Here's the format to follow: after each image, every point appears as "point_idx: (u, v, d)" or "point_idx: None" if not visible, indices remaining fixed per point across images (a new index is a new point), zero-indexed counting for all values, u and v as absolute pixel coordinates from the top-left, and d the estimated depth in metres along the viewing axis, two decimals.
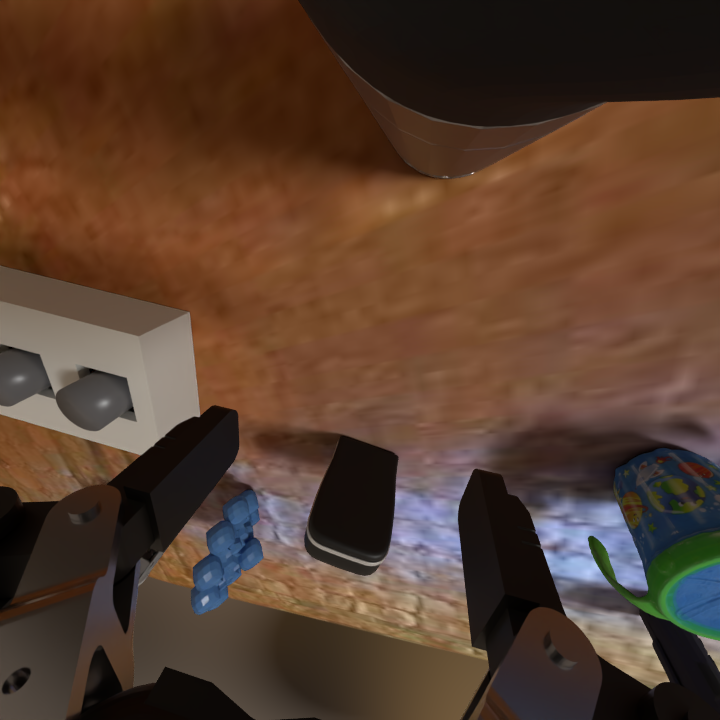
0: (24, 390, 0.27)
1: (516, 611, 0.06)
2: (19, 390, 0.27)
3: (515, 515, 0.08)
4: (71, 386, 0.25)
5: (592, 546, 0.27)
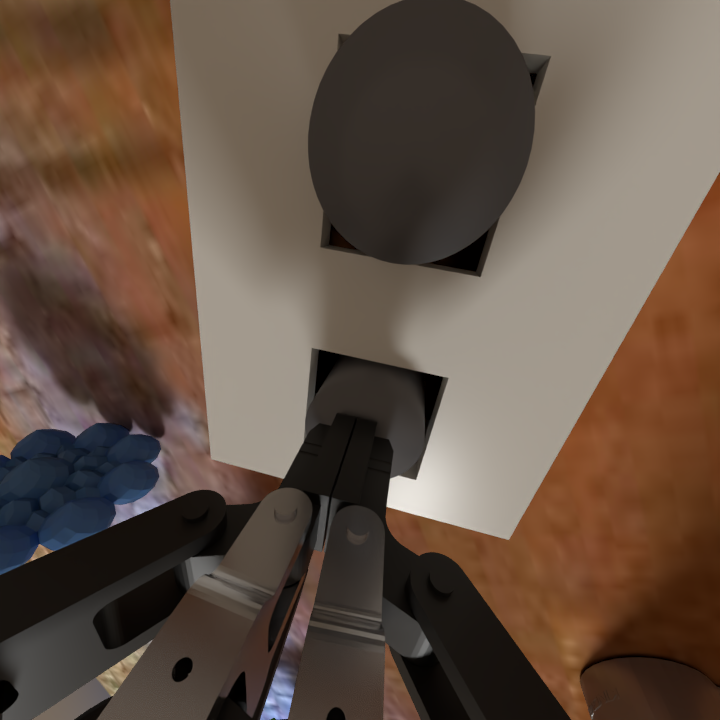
0: None
1: None
2: None
3: (379, 452, 0.10)
4: None
5: None
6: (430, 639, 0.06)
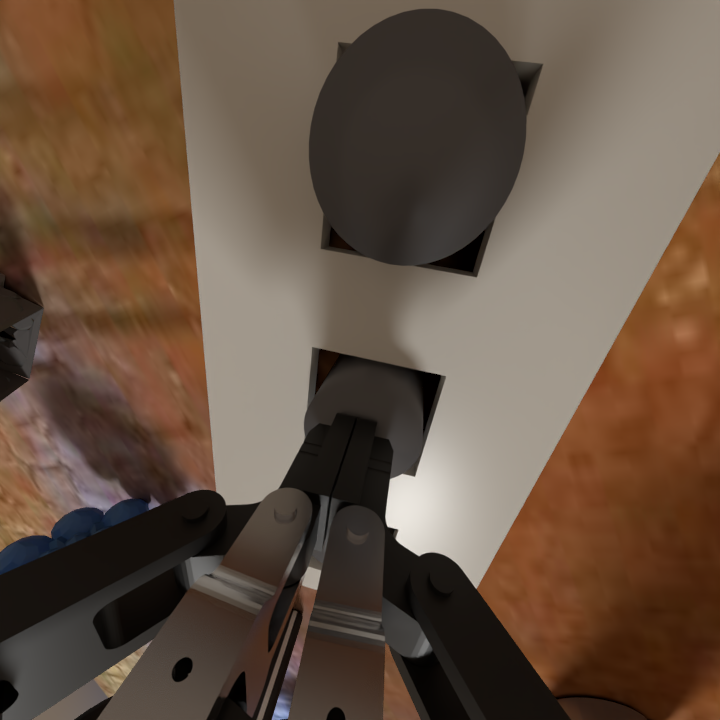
0: None
1: None
2: None
3: (379, 452, 0.10)
4: None
5: None
6: (430, 639, 0.06)
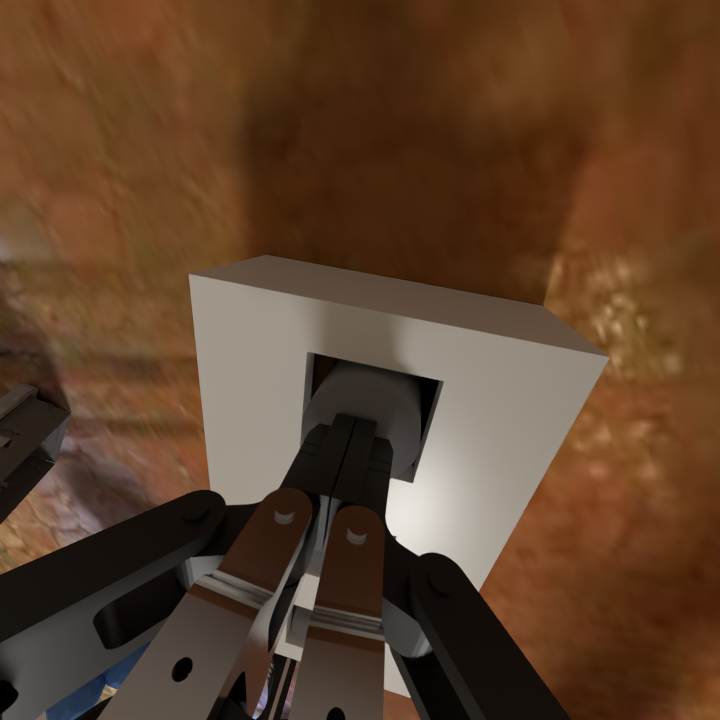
0: None
1: None
2: None
3: (379, 452, 0.10)
4: None
5: None
6: (430, 639, 0.06)
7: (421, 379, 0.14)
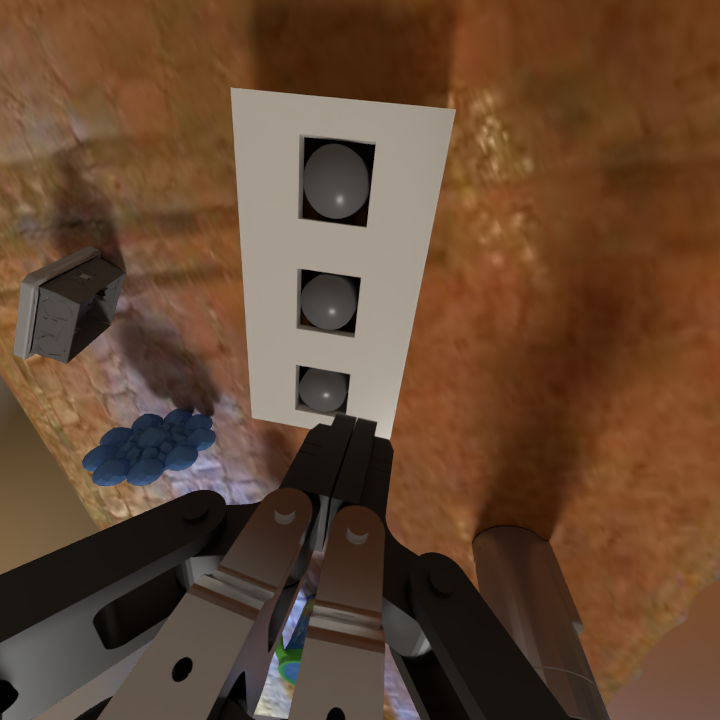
0: None
1: None
2: None
3: (379, 452, 0.10)
4: (345, 390, 0.29)
5: None
6: (430, 639, 0.06)
7: None
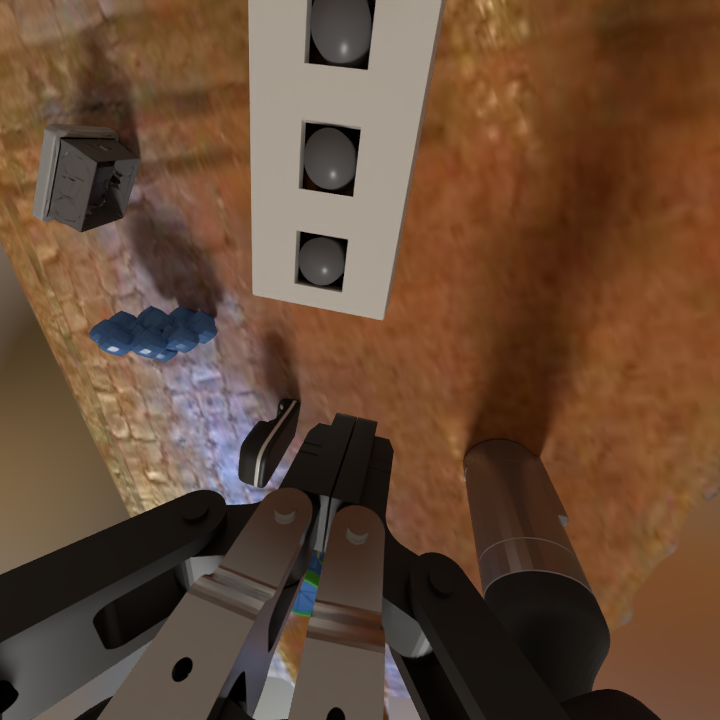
0: (324, 188, 0.28)
1: None
2: (326, 188, 0.28)
3: (379, 452, 0.10)
4: (342, 261, 0.30)
5: None
6: (430, 639, 0.06)
7: None
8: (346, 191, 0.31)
